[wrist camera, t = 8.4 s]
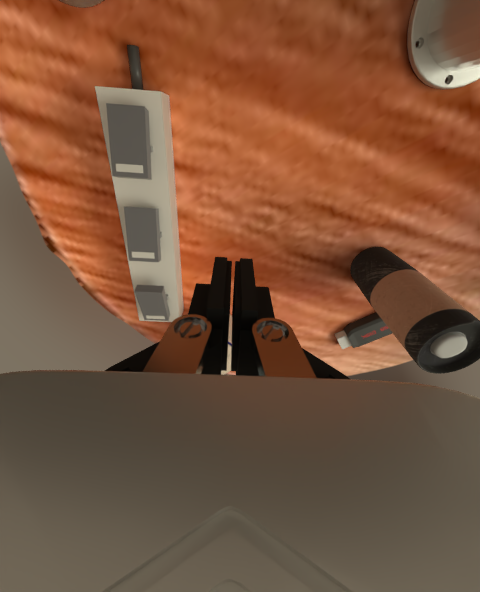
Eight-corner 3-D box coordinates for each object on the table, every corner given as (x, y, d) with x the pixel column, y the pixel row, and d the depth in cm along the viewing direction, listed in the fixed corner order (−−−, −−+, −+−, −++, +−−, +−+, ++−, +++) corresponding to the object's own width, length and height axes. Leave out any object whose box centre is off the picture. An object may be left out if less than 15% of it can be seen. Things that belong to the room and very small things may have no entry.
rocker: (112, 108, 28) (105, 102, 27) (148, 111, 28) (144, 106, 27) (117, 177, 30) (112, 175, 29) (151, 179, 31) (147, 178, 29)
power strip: (101, 44, 28) (78, 30, 24) (166, 50, 29) (154, 37, 25) (145, 307, 48) (137, 323, 44) (183, 309, 48) (178, 325, 44)
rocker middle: (128, 206, 34) (123, 206, 32) (158, 208, 34) (155, 208, 33) (132, 258, 36) (128, 260, 35) (161, 260, 36) (158, 262, 35)
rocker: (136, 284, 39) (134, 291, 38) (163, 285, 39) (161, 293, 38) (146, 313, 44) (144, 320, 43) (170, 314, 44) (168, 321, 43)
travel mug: (351, 290, 47) (415, 381, 30) (345, 254, 43) (415, 335, 26) (395, 277, 45) (489, 364, 28) (393, 238, 41) (500, 313, 24)
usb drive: (398, 322, 51) (405, 331, 49) (340, 345, 55) (345, 354, 52) (391, 303, 49) (399, 312, 47) (332, 329, 52) (336, 338, 50)
